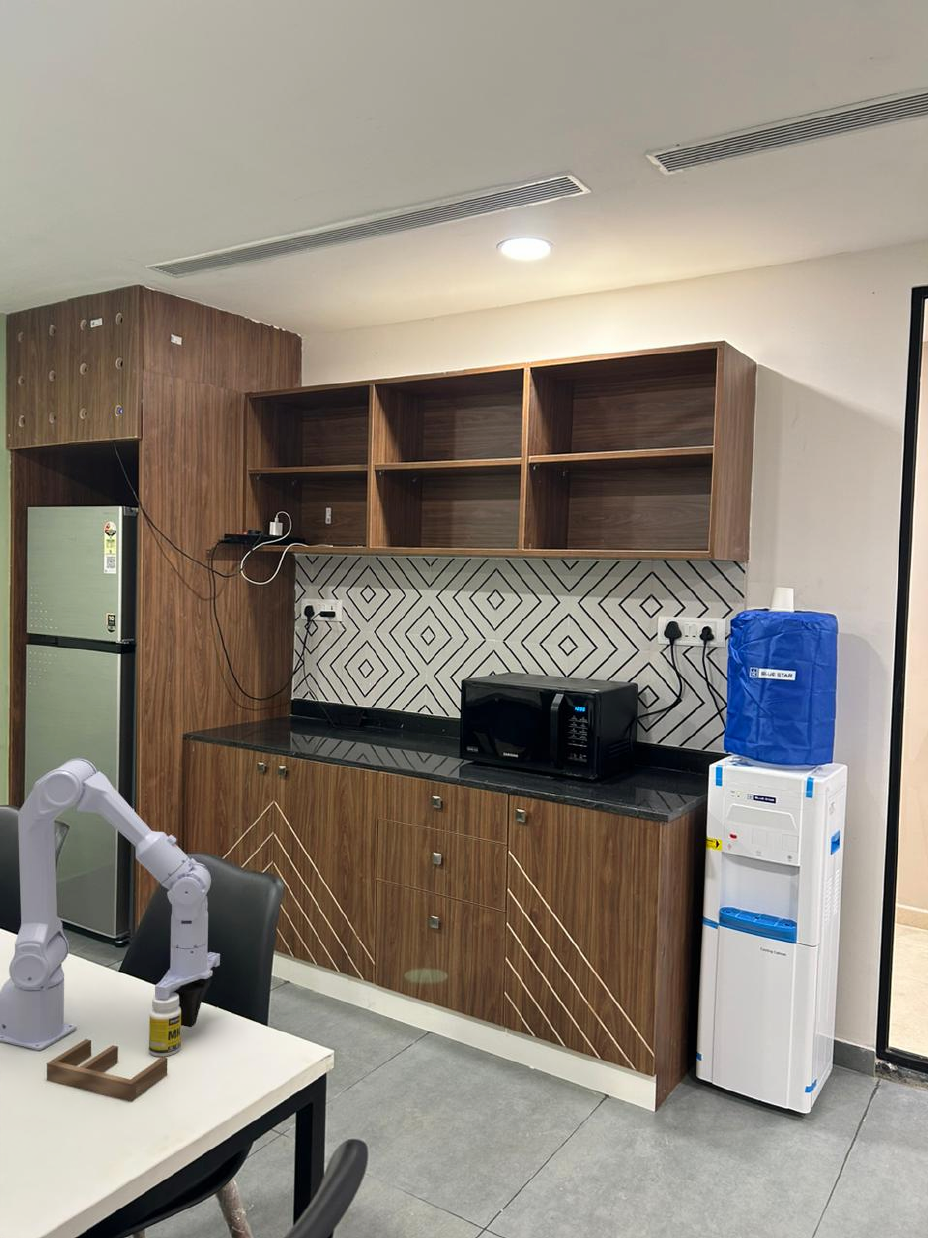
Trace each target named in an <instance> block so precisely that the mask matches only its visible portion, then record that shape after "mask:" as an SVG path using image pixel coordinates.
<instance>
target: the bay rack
mask: <svg viewBox="0 0 928 1238" xmlns="http://www.w3.org/2000/svg"><path fill="white" fill-rule="evenodd" d="M90 1057H92V1040H91V1039H87V1038H85V1039H84V1040H82V1041H80V1042H78V1043H77V1044H76V1045H73V1047H71V1048H69V1049H68V1050H66V1051H64V1052H63V1053H61V1054H60V1055H58V1056H56V1057H55V1058H53V1059H51V1060H50V1061H47V1063H46V1081H48V1082H52V1083H57V1084H61V1085H64V1086H69V1087H71V1088H72V1087H73V1088H77V1089H80V1090H84V1091H88V1092H92V1093H96V1094H100V1095H103V1096H108V1097H111V1098H114V1099H118V1098H119V1100H121V1101H122V1100H124V1101H127V1102H130V1103H132V1102H133V1101H134V1100H136V1099H137V1098H138V1097H140V1096H141V1095H142V1094H144V1093H145V1092H146V1091H148V1090H149V1089H150V1088H152V1087H153V1086H154V1085H156V1083H158V1082H159V1081H161V1080H162V1079H163V1078H165V1077H166V1076H168V1057H166V1056H160V1057H159V1058H158V1059H157V1060H155V1061H154V1062H153V1063H151V1064H150V1065H148V1066H147V1067H145V1068H144V1069H143V1070H141V1071H140V1072H138V1074H136V1075H135V1076H133V1077H131V1078H130V1079H129V1078H125V1077H123V1076H118V1075H114V1074H109V1073H106V1072H107V1071H108V1070H109V1069H111V1068H112V1067H113V1066H116V1064H118V1063H119V1061H118V1060H119V1046H117V1045H113V1044H112V1045H111V1046H109V1047H107V1048H106V1049H105V1050H103V1051H101V1052H100V1053H98V1054H97V1055H96V1056H93V1057H92V1058H91V1059H89V1058H90ZM87 1059H89V1060H88V1061H86V1060H87ZM84 1061H86V1062H85V1063H83V1062H84ZM81 1063H83V1064H82V1065H80V1064H81ZM79 1065H80V1066H79Z"/></svg>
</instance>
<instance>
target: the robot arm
mask: <svg viewBox="0 0 928 1238" xmlns="http://www.w3.org/2000/svg"><path fill="white" fill-rule="evenodd" d="M76 804H79V805H78V807H77V808H76V811H77V812H80V813H81V812H82V813H95V814H99V815H100V816H101V817H102V818H104V820H106V821H107V822H108V823H109V824H110V825H112V827H113V828H114V829H115V830H117V831H118V832H119V834H121V835H122V836H123V837H125V839H127V840H128V841H129V842H130V843H131V844H132V845H133V846H134V847H135V859H136V860H137V861H138V863H140V864H141V866H143V867H144V869H146V870H147V871H148V872H149V874H150V875H151V876H153V878H155V879H156V881H157V882H159V884H161V886H162V887H164V888H166V889H167V890H168V891H167V894H166V895H167V899H168V900H169V903H170V905H171V909H172V910H171V916H170V917H171V918H170V919H171V920H170V968H169V969H168V970H167V972H166V973H165V975H163V977H162V979H161V980H160V981H159V982H158V983H156V984H155V985H154V996H155V997H156V998H160V999H167V998H169V994H170V993H172V992H174V993H177V994H178V995H179V1007H180V1008H181V1027H186V1028H192V1027H194V1026H195V1025H196V1023H197V1020H198V1016H199V1013H200V1009H201V1005H202V1003H203V999H204V997H205V995H206V992H207V991H208V989H209V987H210V985H211V980H212V979H211V978H210V977H212V976H213V970H212V968H213V967H215V968H217V967H218V966H220V965H221V963H220V961H221V953H218V952H217V953H216V952H211V951H209V952H208V945H209V944H208V942H209V940H208V938H209V936H208V935H209V933H208V932H209V912H208V911H209V910H208V904H209V903H208V895H207V893H208V891H209V890H210V887H211V883H212V878H211V874H210V871H209V870H208V869H207V867H206V866H205V864H203V863H200V862H197V861H196V860H195V859H194V857H192V858H190V857H188V855H187V854H186V853H185V852H184V851H182V849H181V848H180V847H179V846H178V845H177V844H176V842H177V838H176V837H175V836H174V835H173V834H170V835H169V836H168V835H167V833H165V832H164V831H154V830H152V829H150V826H148V825H147V824H146V823H145V821H143V819H142V818H141V817H140V816H139V815H138V814H137V812H135V810H134V809H133V808H132V806H130V805H129V804H128V802H127V801H126V799H124V797H123V796H121V794H120V793H119V791H117V790H116V789H115V788H114V786H113V785H112V783H111V782H110V780H109V779H108V778H107V776H106V775H105V774H104V773H102V771H97V769H96V766H94V764H93V763H91V762H90V761H89V760H87V759H84V758H72V759H70V760H69V759H68V760H67V761H66V762H64V763H63V764H61V766H59V767H57V768H56V769H53V770H50V771H49V772H47V773H46V774H44V776H42V777H41V778H39V779H38V780H37V781H36V782H35V783H34V785H33V788H32V790H31V792H30V793H29V794H28V797H27V798H26V799H25V800H24V802H23V804H22V806H21V808H20V810H19V812H18V815H17V816H18V817H17V821H18V828H17V829H18V830H17V831H18V854H19V855H18V856H19V861H18V862H19V885H20V886H19V888H20V889H19V891H20V919H21V921H20V923H21V924H20V928H19V930H18V934H17V937H16V939H15V942H14V956H13V957H12V960H11V962H10V964H9V969H8V971H9V977H10V978H9V979H7V980H6V981H5V983H4V984H3V985H2V986H1V989H0V1042H3V1043H7V1044H12V1045H16V1046H20V1047H24V1048H29V1049H32V1050H36V1051H42V1050H43V1049H45V1048H47V1047H48V1046H50V1045H52V1044H53V1043H55V1042H57V1041H58V1040H60V1039H62V1038H63V1037H65V1036H67V1035H68V1034H71V1033H72V1032H74V1031H75V1030H77V1026H76V1025H75V1024H69V1023H65V1020H64V1018H65V973H64V970H63V967H62V966H63V965H62V963H64V962H65V961H66V959H67V957H68V954H69V951H70V946H69V945H70V944H69V941H68V939H67V937H66V935H65V934H64V930H63V922H62V921H61V919H60V918H59V917H58V904H57V903H58V902H57V900H58V899H57V874H56V873H57V870H56V869H57V867H56V865H57V864H56V839H55V837H56V836H55V835H56V834H55V820H56V819H57V818H58V817H60V815H61V814H62V813H63V812H64V811H66V810H68V809H70V808H72V807H73V806H74V805H76Z"/></svg>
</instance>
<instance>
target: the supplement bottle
mask: <svg viewBox="0 0 928 1238" xmlns="http://www.w3.org/2000/svg"><path fill="white" fill-rule="evenodd" d="M151 999H152V1000H151V1001H152V1002H151V1007H152V1008H151V1009H150V1012H149V1018H148V1019H149V1021H148V1022H149V1024H148V1025H149V1026H148V1027H149V1028H148V1030H149V1031H148V1032H149V1033H148V1052H149V1054H151V1055H152V1056H155V1057H168V1056H169V1057H170V1056H173V1055H174V1054H176V1053H177V1052H178V1051H179V1050H180V1049H181V1037H182V1036H181V1034H182V1032H181V1030H182V1026H181V1008H180V1007H179V995H178V994H177V993H174V992H172V993H170V994H169V998H167V999H160V998H156V997H155V995H154V996H153V997H152V998H151Z"/></svg>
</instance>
